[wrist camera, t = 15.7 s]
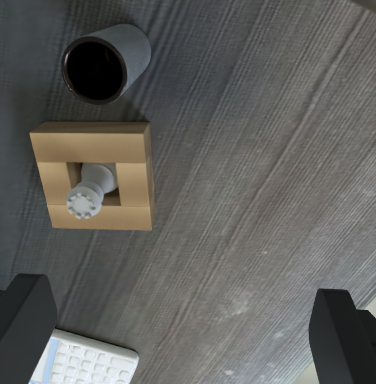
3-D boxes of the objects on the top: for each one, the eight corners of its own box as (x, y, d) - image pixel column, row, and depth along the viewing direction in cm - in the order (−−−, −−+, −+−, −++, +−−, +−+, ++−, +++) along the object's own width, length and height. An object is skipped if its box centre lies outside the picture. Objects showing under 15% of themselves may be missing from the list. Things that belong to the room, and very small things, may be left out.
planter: (160, 60, 33) (140, 86, 24) (120, 84, 34) (87, 117, 25) (134, 12, 31) (101, 21, 22) (92, 40, 32) (46, 58, 23)
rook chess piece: (78, 154, 38) (47, 190, 31) (117, 146, 37) (94, 181, 30) (93, 190, 40) (67, 231, 33) (130, 183, 40) (111, 224, 33)
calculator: (120, 398, 60) (118, 410, 58) (2, 367, 58) (-4, 378, 56) (141, 351, 53) (139, 362, 52) (9, 314, 51) (2, 324, 50)
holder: (44, 121, 37) (29, 132, 34) (149, 121, 36) (143, 133, 33) (64, 211, 42) (52, 228, 39) (156, 212, 41) (151, 230, 38)
